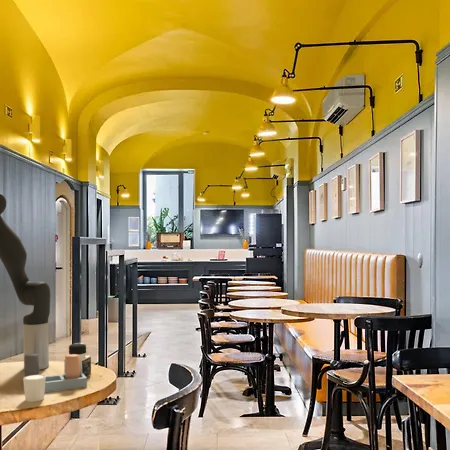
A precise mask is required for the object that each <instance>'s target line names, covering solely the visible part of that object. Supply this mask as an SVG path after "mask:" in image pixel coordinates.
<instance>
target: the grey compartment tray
mask: <svg viewBox="0 0 450 450" xmlns="http://www.w3.org/2000/svg"><path fill="white" fill-rule="evenodd" d="M64 360H65V374H64V373H61V374H55V375H53V374H52V375H45V376H46V380H45V393H48V392H56V391H63V390H65V391H66V390H72V389H81V388H82V389H83V388H87V387H88V377H86V376H85V375H84V374H83V373H82V372H80V355H77V354H71V355H69V354H66V355H65V356H64Z"/></svg>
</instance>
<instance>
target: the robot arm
mask: <svg viewBox="0 0 450 450" xmlns="http://www.w3.org/2000/svg"><path fill="white" fill-rule="evenodd" d="M6 207H7V200H6V197H5V196H4V194H3V193H0V261H1V263H2V264H3V266H4V268H5V270H6V272H7V274H8V276H9V278H10V280H11V283H12V286H13V288H14V291H15V293H16V296H17V298H18V300H19V301H20V303H21V304H22V305H24V306H32V307H33V308H32V309H33V310H32V312H30V313H29V314H26V315H25V316H23V319H22V321H23V322H22V325H23V326H22V327H23V328H22V329H23V332H22V334H23V356H24V355H27V354H39V370H44V369H47V368H49V367H50V357H49V356H50V353H49V352H50V349H49V348H50V347H49V344H50V343H49V318H50V314H51V289H50V285H49V284H48V283H47V282H45V281H31V280H30V279H29V277H28V276H27V274H26V269H25V268H26V263H27V258H28V257H27V256H28V255H27V254H28V253H27V251H26V248H25V246H24V243H23V242H22V240H21V238H20V237H19V236H18V235H17V233H16V232H15V231H14V230H13V228H11V227H10V226H9V224H8V223H7V222H6V221H5V220H4V218H3V217H2V214H3V213H4V211H5V210H6ZM23 369H24V370H25V367H24V366H23Z"/></svg>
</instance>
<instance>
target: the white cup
mask: <svg viewBox="0 0 450 450" xmlns="http://www.w3.org/2000/svg"><path fill="white" fill-rule="evenodd" d="M46 376H47V375H46V374H45V375H44V374H39V375H30V376H26V377H25V376H23V378H22V380H23V390H24V397H25V401H26V402H28V403H29V402H31V403H33V402H40V401H43V400H44V399H45V393H46V392H45V380H46Z"/></svg>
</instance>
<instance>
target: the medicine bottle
mask: <svg viewBox="0 0 450 450" xmlns="http://www.w3.org/2000/svg"><path fill="white" fill-rule="evenodd" d="M71 354H77V355H80V372H82V373H83V374H84V375H85V376H86V377H87V378H88V377H90V376H91V375H92V357H91V355H87V345H86V344H85V343H82V342H76V343H71V344H70V345H68V355H71ZM63 363H64V366H63V367H64V368H63V369H64V371H63V372H64V373H63V374H65V359H64V360H63Z"/></svg>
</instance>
